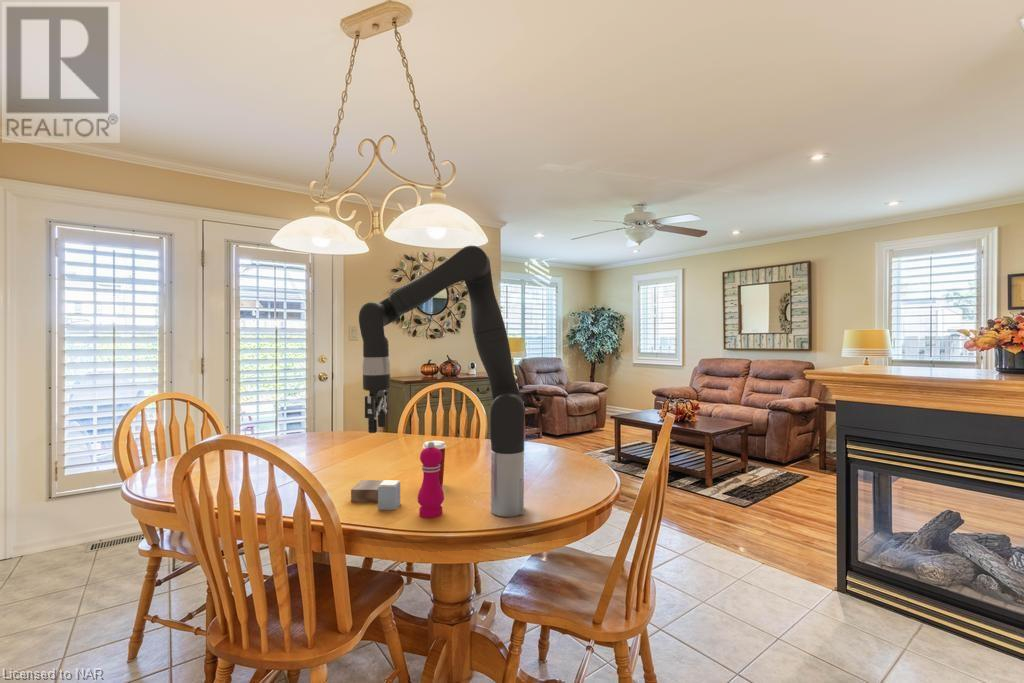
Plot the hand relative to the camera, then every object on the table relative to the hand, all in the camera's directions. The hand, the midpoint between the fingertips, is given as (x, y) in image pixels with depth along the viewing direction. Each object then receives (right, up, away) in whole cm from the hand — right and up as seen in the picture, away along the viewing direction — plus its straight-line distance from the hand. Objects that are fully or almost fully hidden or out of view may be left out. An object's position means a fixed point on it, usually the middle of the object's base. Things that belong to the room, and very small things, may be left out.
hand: (377, 429), depth 138 cm
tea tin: (+3, -22, +1) cm, 23 cm away
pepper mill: (+16, -23, -4) cm, 28 cm away
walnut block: (-5, -23, +9) cm, 25 cm away
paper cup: (+13, -22, +21) cm, 33 cm away
